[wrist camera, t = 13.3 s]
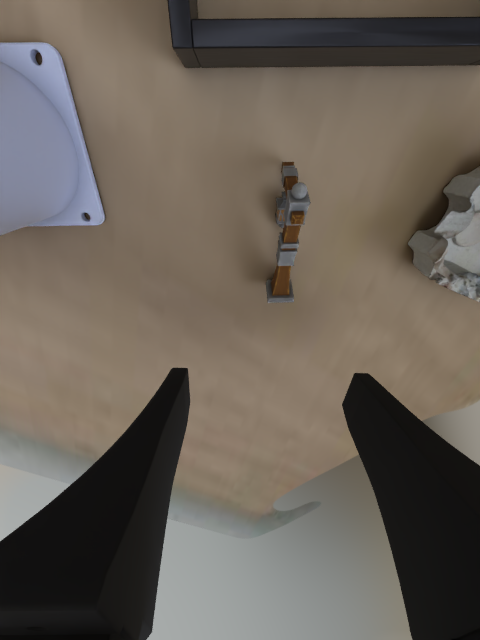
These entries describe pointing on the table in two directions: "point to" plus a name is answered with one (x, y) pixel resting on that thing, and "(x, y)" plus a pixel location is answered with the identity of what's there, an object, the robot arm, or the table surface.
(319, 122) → the table surface
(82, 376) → the table surface
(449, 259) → the egg carton
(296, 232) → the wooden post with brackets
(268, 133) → the table surface
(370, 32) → the frame
